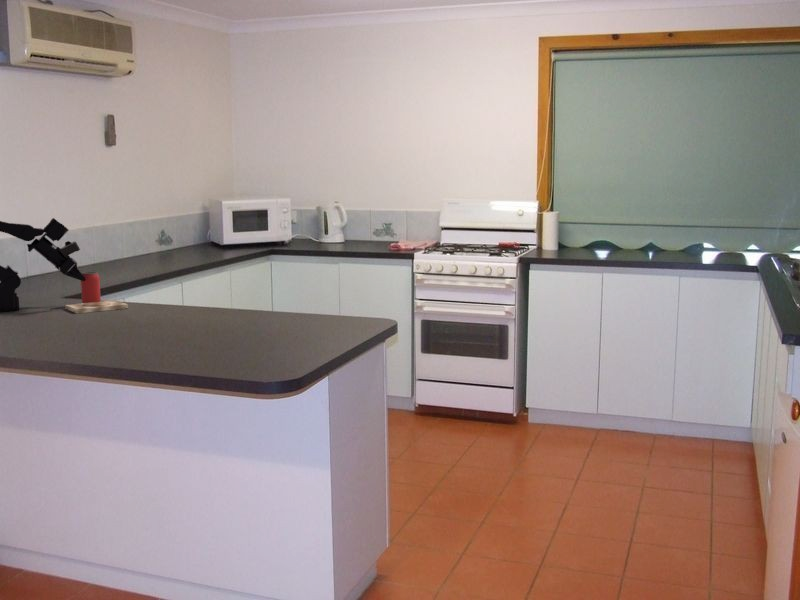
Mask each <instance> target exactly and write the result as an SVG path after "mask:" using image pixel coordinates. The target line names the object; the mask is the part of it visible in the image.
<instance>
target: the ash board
mask: <svg viewBox="0 0 800 600" xmlns="http://www.w3.org/2000/svg"><path fill="white" fill-rule="evenodd" d="M64 306H65V310H66V309H67V311H69V312H71V313H73V314H85V313H87V314H88V313H96V312H105V311H114V310H115V311H117V310H116V309H118V310H126V309H125V308H129V305H128V303H124V302H121V301H118V300H108V301H107V300H105V301H101V302H91V303H82V302H81V303H73V304H65V305H64Z"/></svg>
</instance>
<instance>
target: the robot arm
mask: <svg viewBox="0 0 800 600" xmlns="http://www.w3.org/2000/svg"><path fill="white" fill-rule="evenodd" d="M68 231H69V229H68V228H67V227H66V226H65V225H64V224H63V223H61V222H59V221H58V220H57V219H55V218H54V217H52V218H51V219H50V221H49V222H48V223H47V224H46V226H44V228H41V227H40V228H38V227H33V226H32V225H31V224H26V223H16V222H15V223H12V222H7V221H2V220H0V232H1V233H5V234H8V235H10V236H12V237H14V238H17V239H20V240H22V241H24V242H31V243H27V244H26V246H27V251H28V252H29V253H31V252H32V250H34V251H36V252H37V253H38V254H39V255H40V256H42V257H43V258H44V259H46V260H47V261H48V262H49V263H50V264H51V265H53V266H54V268H56V269H57V270H58V271H59V272H60V273H61V274H63V275H64V276H67V277H69V278H73V279H76V280H79V281H80V282H81V281H85V280H86V279H85V277H84V276H83V275H82V272H81V271H80V270H79V268H78V262H77V261H76V260H75V259H74V258H73V257H71V254H73V253H76V252H79V251H81V248H80V246H79V245H78V243H77V242H76V241H72V242H71V241H70V240H67V241H66V242H64V246H62V247H59V246H56V245H55V244H54V242H55V241H57V242H59V241H60V240H61V239H62V238H63V237H64V236H65V235H66V234H67V233H68ZM36 237H40V238H39V239H38V238H36ZM48 238H49V239H50V240H49V239H48ZM21 283H22V281H21V277H20V276H19V272H18V271H16V270H14V269H13V268H12V267H11V266H10V265H9V264H6V267H4V266H3V265H1V264H0V313H3V312H13V311H20V298H19V296H18V295H17V292H16V289H18V288H19V287H20V286H21V285H22V284H21Z"/></svg>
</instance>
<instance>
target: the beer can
mask: <svg viewBox="0 0 800 600" xmlns="http://www.w3.org/2000/svg"><path fill="white" fill-rule="evenodd" d="M81 274H82V275H83V276H84V277H85V279H86V280H85V281H81V280H80V289H81V292H80V293H81V304H82V303H91V302H102V299H101V298H102V297H101V282H100V281H101V280H100V275H99V273H98V271H85V272H81Z"/></svg>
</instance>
